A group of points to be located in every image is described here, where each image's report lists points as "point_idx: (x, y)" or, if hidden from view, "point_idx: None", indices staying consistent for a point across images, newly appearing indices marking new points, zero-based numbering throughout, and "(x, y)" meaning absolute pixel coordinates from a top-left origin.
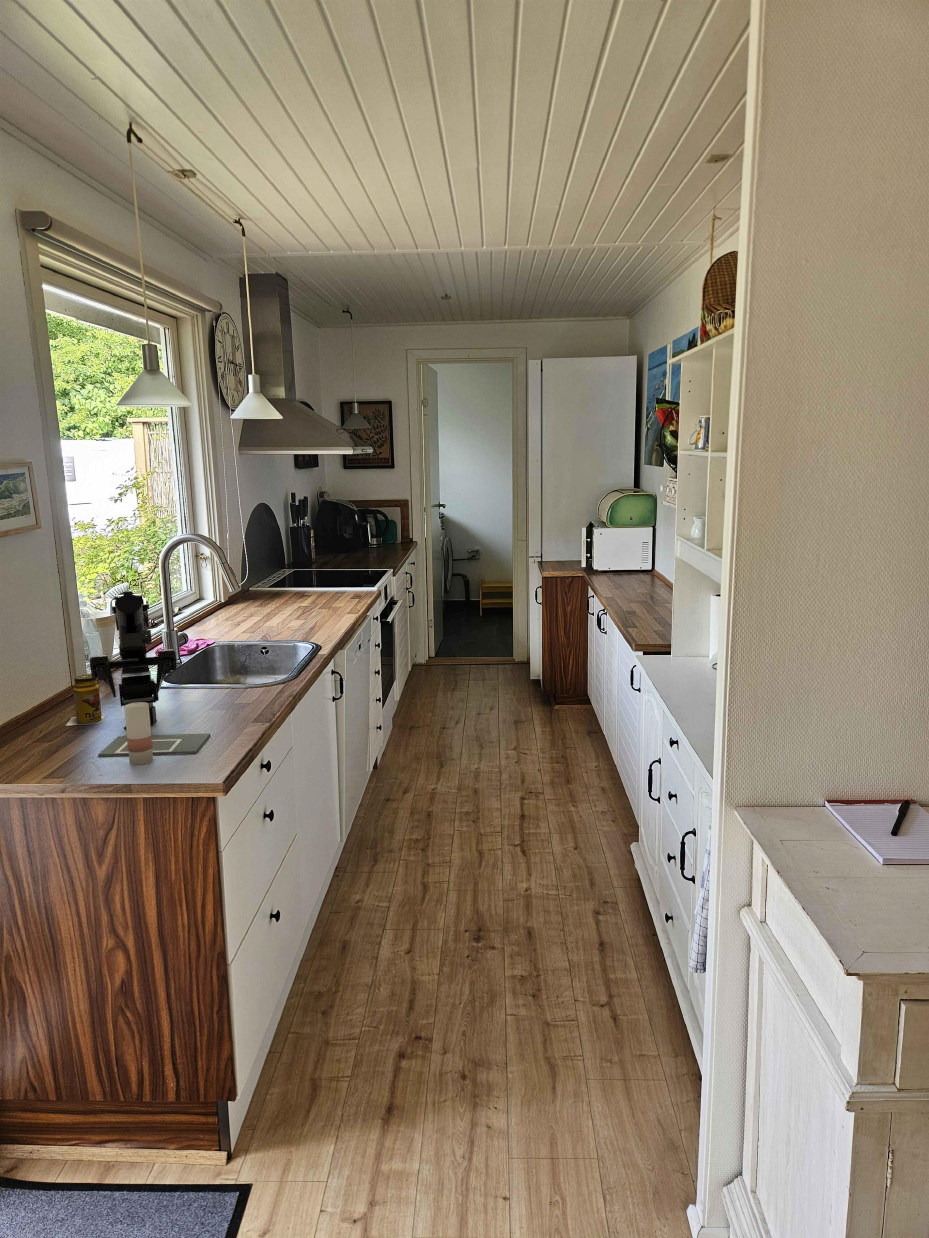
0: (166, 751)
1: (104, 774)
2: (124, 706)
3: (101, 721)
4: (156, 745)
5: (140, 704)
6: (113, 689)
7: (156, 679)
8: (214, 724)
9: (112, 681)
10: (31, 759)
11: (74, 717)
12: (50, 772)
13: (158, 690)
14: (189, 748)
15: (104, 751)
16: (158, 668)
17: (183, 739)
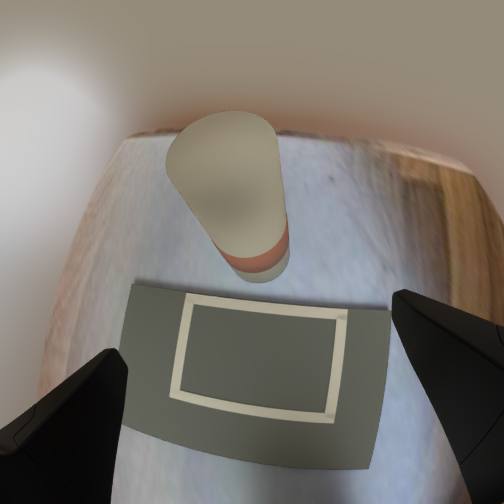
0: (198, 294)
1: (326, 182)
2: (275, 136)
3: None
4: (234, 361)
5: (201, 158)
6: (425, 307)
7: (68, 395)
8: (122, 498)
9: (472, 341)
10: None
11: None
12: (447, 216)
13: (106, 351)
14: (145, 308)
15: (380, 333)
16: (2, 448)
17: (165, 395)
